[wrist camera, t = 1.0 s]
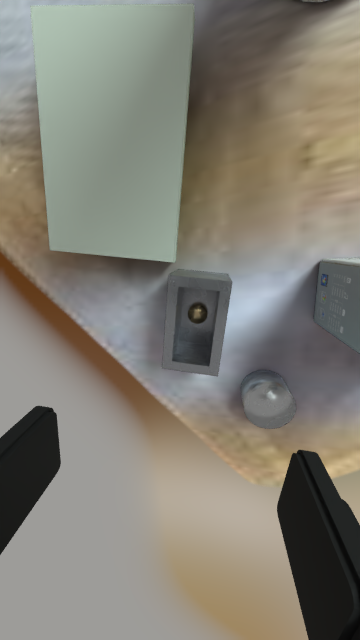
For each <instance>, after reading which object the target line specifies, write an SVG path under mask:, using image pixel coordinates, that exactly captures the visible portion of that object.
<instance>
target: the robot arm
mask: <svg viewBox="0 0 360 640" xmlns="http://www.w3.org/2000/svg"><path fill="white" fill-rule="evenodd" d="M301 1H304V2H323V1H328V0H301ZM60 464H61V461H60V449H59V438H58V426H57V415H56V413H55V412H54V411H53V409H52V408H49V407H42V406H36V407H35V408H33V409H32V410H31V411H30V412H29V413H28V414H27V415H25V416H24V417H23V418H22V419H21V420H20V421H19V422H18V423H16V424H15V425H14V426H13V427H12V428H11V429H10V430H9V431H8V432H6V433H5V434H4V435H3V436H2V437H1V438H0V554H1V553H2V552H3V550H4V549H5V547H6V546H7V544H8V543H9V541H10V540H11V538H12V537H13V536H14V534H15V533H16V531H17V530H18V528H19V527H20V526H21V524H22V523H23V521H24V520H25V518H26V517H27V515H28V514H29V512H30V511H31V510H32V508H33V507H34V505H35V504H36V502H37V501H38V499H39V498H40V497H41V495H42V494H43V492H44V491H45V489H46V488H47V487H48V485H49V483H50V482H51V481H52V479H53V478H54V477H55V475H56V473H57V472H58V470H59V468H60ZM277 512H278V518H279V522H280V526H281V530H282V534H283V538H284V542H285V546H286V550H287V554H288V558H289V562H290V566H291V570H292V574H293V578H294V582H295V586H296V590H297V594H298V598H299V602H300V606H301V610H302V615H303V618H304V623H305V626H306V631H307V635H308V638H309V640H360V525H359V523H358V521H357V519H356V518H355V516H354V514H353V512H352V510H351V508H350V507H349V505H348V504H347V503H346V502H345V501H344V500H342V499H341V498H340V496H339V494H338V492H337V490H336V488H335V486H334V484H333V482H332V480H331V478H330V476H329V474H328V473H327V471H326V469H325V467H324V465H323V463H322V461H321V459H320V457H319V455H318V454H317V453H316V452H310V451H304V450H298V451H297V454H296V453H293V454H292V457H291V460H290V464H289V467H288V470H287V474H286V477H285V481H284V484H283V487H282V491H281V494H280V498H279V501H278V505H277Z"/></svg>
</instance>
